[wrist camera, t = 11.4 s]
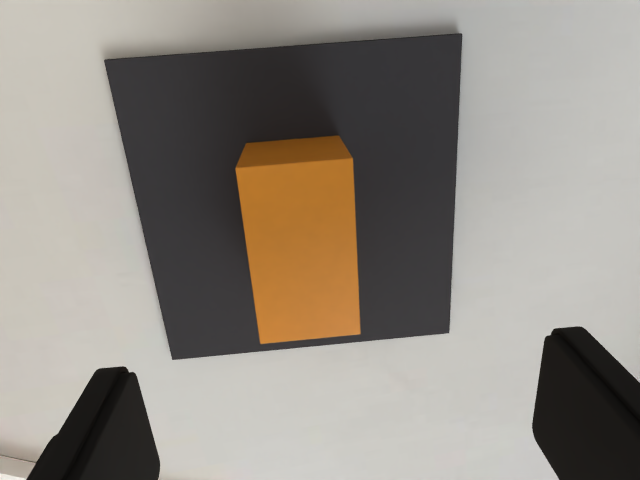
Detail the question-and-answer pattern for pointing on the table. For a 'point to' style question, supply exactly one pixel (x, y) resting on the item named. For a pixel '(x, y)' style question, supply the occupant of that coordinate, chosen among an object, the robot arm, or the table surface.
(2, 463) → the tray
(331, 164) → the block
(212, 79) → the mat
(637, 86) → the table surface
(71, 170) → the table surface
